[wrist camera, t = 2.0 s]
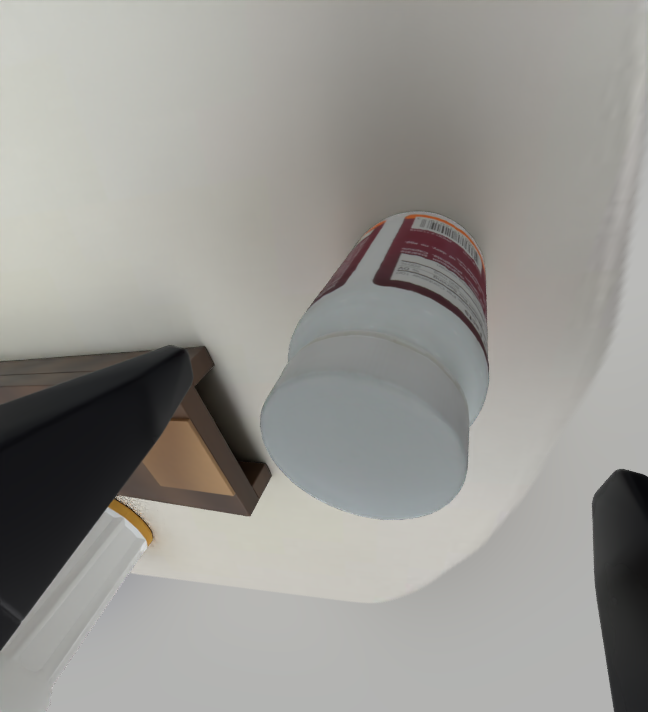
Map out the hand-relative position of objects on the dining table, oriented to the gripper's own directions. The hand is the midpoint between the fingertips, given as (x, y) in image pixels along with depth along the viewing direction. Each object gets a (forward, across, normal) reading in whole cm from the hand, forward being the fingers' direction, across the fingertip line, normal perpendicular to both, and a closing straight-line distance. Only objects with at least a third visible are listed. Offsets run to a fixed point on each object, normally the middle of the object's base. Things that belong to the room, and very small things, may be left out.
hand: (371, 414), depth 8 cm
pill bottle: (+7, 0, 0) cm, 7 cm away
